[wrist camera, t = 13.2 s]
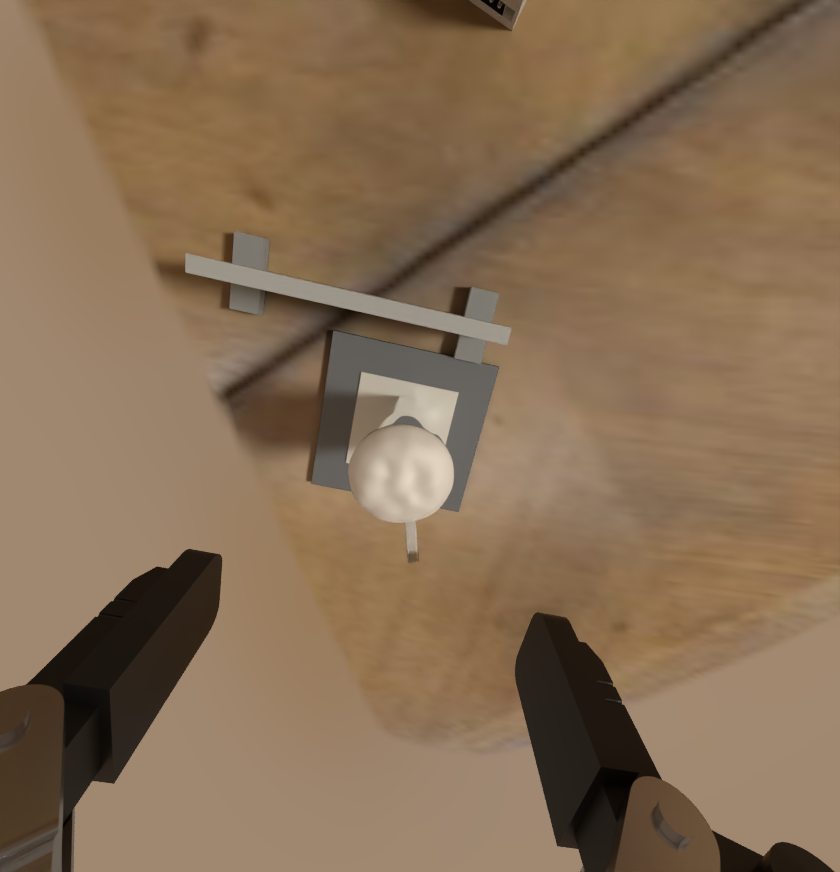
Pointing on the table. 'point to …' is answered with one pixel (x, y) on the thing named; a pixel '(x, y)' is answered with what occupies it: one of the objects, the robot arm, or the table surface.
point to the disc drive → (502, 10)
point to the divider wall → (347, 297)
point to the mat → (387, 380)
